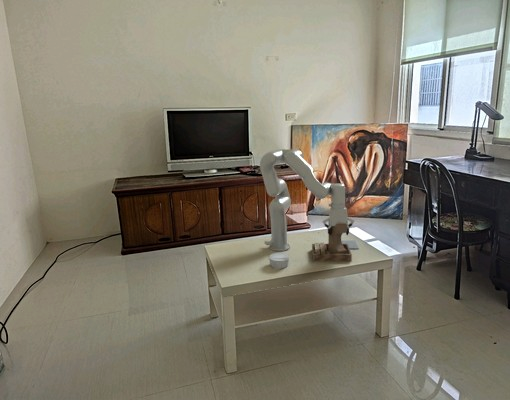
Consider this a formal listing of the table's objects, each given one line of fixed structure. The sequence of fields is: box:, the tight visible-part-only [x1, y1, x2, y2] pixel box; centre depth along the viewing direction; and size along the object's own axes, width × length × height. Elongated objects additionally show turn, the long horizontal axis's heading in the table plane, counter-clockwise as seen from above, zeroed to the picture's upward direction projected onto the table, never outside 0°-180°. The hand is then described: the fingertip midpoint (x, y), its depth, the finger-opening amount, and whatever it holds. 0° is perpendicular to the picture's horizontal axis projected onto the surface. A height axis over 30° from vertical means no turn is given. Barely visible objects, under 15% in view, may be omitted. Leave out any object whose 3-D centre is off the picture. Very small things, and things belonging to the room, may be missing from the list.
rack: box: [311, 243, 353, 262], centre depth 207 cm, size 21×17×4 cm
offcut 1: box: [314, 242, 320, 254], centre depth 208 cm, size 2×10×6 cm, turn 174°
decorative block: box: [327, 224, 347, 254], centre depth 205 cm, size 11×6×20 cm, turn 20°
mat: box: [341, 240, 359, 250], centre depth 221 cm, size 9×13×1 cm
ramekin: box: [268, 252, 290, 270], centre depth 197 cm, size 11×11×5 cm
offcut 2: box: [319, 242, 325, 254], centre depth 207 cm, size 2×10×6 cm, turn 174°
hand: (338, 234), depth 204 cm, fingers open, 9 cm apart
